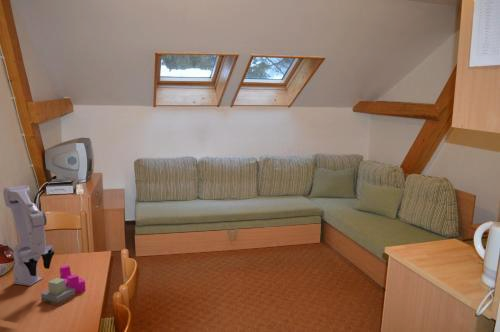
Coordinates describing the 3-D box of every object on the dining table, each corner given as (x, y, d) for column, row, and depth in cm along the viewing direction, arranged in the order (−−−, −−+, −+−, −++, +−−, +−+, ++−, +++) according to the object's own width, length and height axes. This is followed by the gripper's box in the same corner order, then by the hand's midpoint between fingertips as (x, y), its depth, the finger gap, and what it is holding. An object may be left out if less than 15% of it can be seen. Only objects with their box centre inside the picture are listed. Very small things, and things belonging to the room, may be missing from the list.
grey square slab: (41, 303, 164) (41, 298, 164) (58, 293, 172) (57, 289, 172) (59, 307, 161) (58, 302, 161) (75, 296, 170) (74, 292, 169)
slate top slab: (41, 298, 164) (41, 293, 164) (59, 288, 172) (59, 284, 172) (57, 302, 161) (56, 297, 160) (75, 293, 169) (74, 288, 168)
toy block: (85, 291, 174) (84, 274, 173) (70, 295, 170) (69, 278, 169) (75, 279, 186) (74, 263, 184) (60, 282, 182) (59, 267, 181)
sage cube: (48, 292, 165) (48, 282, 164) (57, 287, 169) (56, 277, 168) (57, 294, 163) (56, 283, 163) (65, 289, 167) (65, 279, 167)
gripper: (32, 248, 159) (34, 280, 161) (58, 236, 173) (60, 266, 175) (17, 246, 161) (20, 278, 163) (44, 235, 175) (46, 264, 177)
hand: (40, 271), depth 169 cm, fingers open, 7 cm apart
